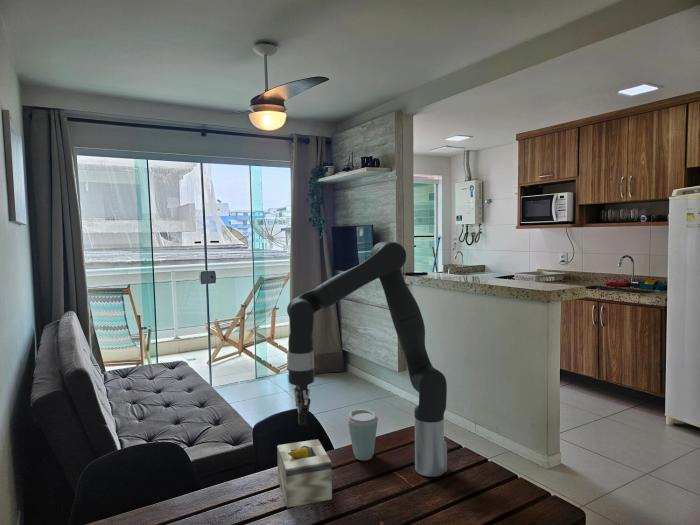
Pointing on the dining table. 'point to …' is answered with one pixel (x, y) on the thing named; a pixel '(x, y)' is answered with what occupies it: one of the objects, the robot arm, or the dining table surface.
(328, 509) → the dining table surface
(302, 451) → the drill bit
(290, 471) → the socket block
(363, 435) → the disposable coffee cup
